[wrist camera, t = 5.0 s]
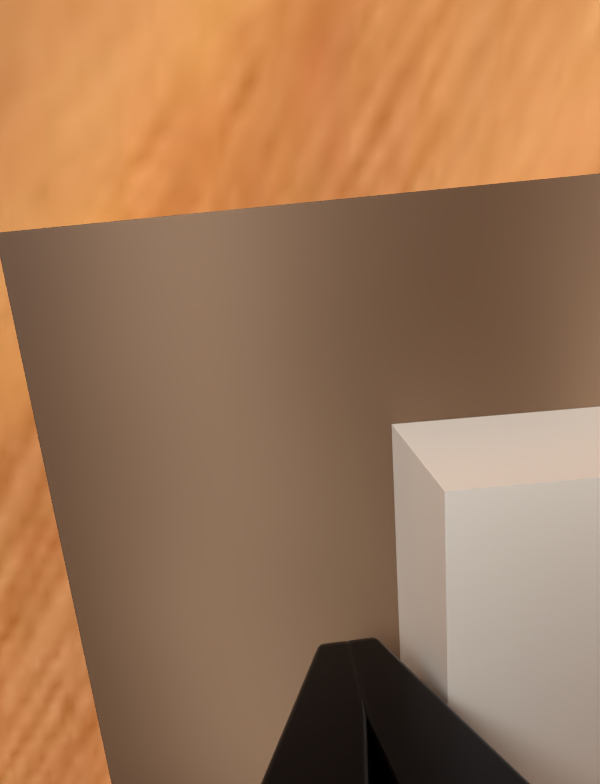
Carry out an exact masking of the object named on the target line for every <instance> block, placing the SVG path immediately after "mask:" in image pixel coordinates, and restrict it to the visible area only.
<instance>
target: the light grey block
mask: <svg viewBox="0 0 600 784" xmlns="http://www.w3.org/2000/svg"><path fill="white" fill-rule="evenodd" d="M392 450H393V477H394V504H395V531H396V558H397V585H398V612H399V639H400V660H401V661H402V662H403V663H404V664H405V665H406V666H407V667H408V668H409V669H410V670H411V671H412V672H413V673H414V674H415V675H416V676H417V677H418V678H420V679H421V680H422V681H423V682H424V683H425V684H426V685H427V686H428V687H429V688H430V689H431V690H432V691H433V692H434V693H435V694H436V695H437V696H438V697H440V698H441V699H442V700H443V701H444V702H445V703H446V704H447V705H448V706H449V707H450V708H451V709H452V710H453V711H454V712H455V713H456V714H457V715H458V716H460V717H461V718H462V719H463V720H464V721H465V722H466V723H467V724H468V725H469V726H470V727H471V728H472V729H473V730H474V731H475V732H476V733H477V734H478V735H480V736H481V737H482V738H483V739H484V740H485V741H486V742H487V743H488V744H489V745H490V746H491V747H492V748H493V749H494V750H495V751H496V752H497V753H498V754H499V755H501V756H502V757H503V758H504V759H505V760H506V761H507V762H508V763H509V764H510V765H511V766H512V767H513V768H514V769H515V770H516V771H517V772H518V773H519V774H521V775H522V776H523V777H524V778H525V779H526V780H527V781H528V782H529V783H530V784H600V406H599V407H588V408H576V409H564V410H552V411H541V412H529V413H517V414H506V415H494V416H482V417H470V418H459V419H447V420H435V421H423V422H412V423H400V424H392Z"/></svg>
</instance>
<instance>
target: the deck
mask: <svg viewBox="0 0 600 784" xmlns="http://www.w3.org/2000/svg"><path fill="white" fill-rule="evenodd" d="M0 258H1V263H2V268H3V272H4V277H5V282H6V287H7V291H8V296H9V301H10V305H11V310H12V315H13V320H14V324H15V329H16V334H17V339H18V343H19V348H20V353H21V357H22V362H23V367H24V372H25V376H26V381H27V386H28V391H29V395H30V400H31V405H32V409H33V414H34V419H35V424H36V428H37V433H38V438H39V442H40V447H41V452H42V457H43V461H44V466H45V471H46V476H47V480H48V485H49V490H50V494H51V499H52V504H53V509H54V513H55V518H56V523H57V528H58V532H59V537H60V542H61V546H62V551H63V556H64V561H65V565H66V570H67V575H68V579H69V584H70V589H71V594H72V598H73V603H74V608H75V613H76V617H77V622H78V627H79V631H80V636H81V641H82V646H83V650H84V655H85V660H86V665H87V669H88V674H89V679H90V683H91V688H92V693H93V698H94V702H95V707H96V712H97V717H98V721H99V726H100V731H101V735H102V740H103V745H104V750H105V754H106V759H107V764H108V768H109V773H110V778H111V783H112V784H261V782H262V780H263V777H264V775H265V773H266V770H267V768H268V765H269V763H270V761H271V758H272V756H273V753H274V751H275V749H276V746H277V744H278V741H279V739H280V737H281V734H282V732H283V729H284V727H285V725H286V722H287V720H288V717H289V715H290V713H291V710H292V708H293V705H294V703H295V701H296V698H297V696H298V693H299V691H300V689H301V686H302V684H303V681H304V679H305V677H306V674H307V672H308V669H309V667H310V665H311V662H312V660H313V657H314V655H315V653H316V650H317V648H318V647H319V646H320V645H321V644H325V643H332V642H340V641H347V642H348V641H350V640H356V639H364V638H371V637H373V638H377V639H378V640H380V641H381V642H382V643H383V644H384V645H385V646H386V647H387V648H388V649H389V650H390V651H391V652H392V653H393V654H394V655H395V656H396V657H397V658H399V659H400V639H399V612H398V585H397V558H396V531H395V504H394V477H393V450H392V424H400V423H412V422H423V421H435V420H447V419H459V418H470V417H482V416H494V415H506V414H517V413H529V412H541V411H552V410H564V409H576V408H588V407H599V406H600V174H591V175H581V176H570V177H560V178H550V179H540V180H530V181H520V182H509V183H499V184H489V185H479V186H469V187H458V188H448V189H438V190H428V191H418V192H408V193H397V194H387V195H377V196H367V197H357V198H347V199H336V200H326V201H316V202H306V203H296V204H286V205H275V206H265V207H255V208H245V209H235V210H225V211H214V212H204V213H194V214H184V215H174V216H164V217H153V218H143V219H133V220H123V221H113V222H103V223H92V224H82V225H72V226H62V227H52V228H42V229H31V230H21V231H11V232H1V233H0Z"/></svg>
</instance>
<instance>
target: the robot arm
mask: <svg viewBox="0 0 600 784" xmlns="http://www.w3.org/2000/svg"><path fill="white" fill-rule="evenodd" d="M261 784H530V783H529V782H528V781H527V780H526V779H525V778H524V777H523V776H522V775H521V774H519V773H518V772H517V771H516V770H515V769H514V768H513V767H512V766H511V765H510V764H509V763H508V762H507V761H506V760H505V759H504V758H503V757H502V756H501V755H499V754H498V753H497V752H496V751H495V750H494V749H493V748H492V747H491V746H490V745H489V744H488V743H487V742H486V741H485V740H484V739H483V738H482V737H481V736H480V735H478V734H477V733H476V732H475V731H474V730H473V729H472V728H471V727H470V726H469V725H468V724H467V723H466V722H465V721H464V720H463V719H462V718H461V717H460V716H458V715H457V714H456V713H455V712H454V711H453V710H452V709H451V708H450V707H449V706H448V705H447V704H446V703H445V702H444V701H443V700H442V699H441V698H440V697H438V696H437V695H436V694H435V693H434V692H433V691H432V690H431V689H430V688H429V687H428V686H427V685H426V684H425V683H424V682H423V681H422V680H421V679H420V678H418V677H417V676H416V675H415V674H414V673H413V672H412V671H411V670H410V669H409V668H408V667H407V666H406V665H405V664H404V663H403V662H402V661H401V660H400V659H399V658H397V657H396V656H395V655H394V654H393V653H392V652H391V651H390V650H389V649H388V648H387V647H386V646H385V645H384V644H383V643H382V642H381V641H380V640H378V639H377V638H373V637H371V638H364V639H356V640H350V641H348V642H347V641H340V642H332V643H325V644H321V645H320V646H319V647H318V648H317V650H316V653H315V655H314V657H313V660H312V662H311V665H310V667H309V669H308V672H307V674H306V677H305V679H304V681H303V684H302V686H301V689H300V691H299V693H298V696H297V698H296V701H295V703H294V705H293V708H292V710H291V713H290V715H289V717H288V720H287V722H286V725H285V727H284V729H283V732H282V734H281V737H280V739H279V741H278V744H277V746H276V749H275V751H274V753H273V756H272V758H271V761H270V763H269V765H268V768H267V770H266V773H265V775H264V777H263V780H262V782H261Z"/></svg>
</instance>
